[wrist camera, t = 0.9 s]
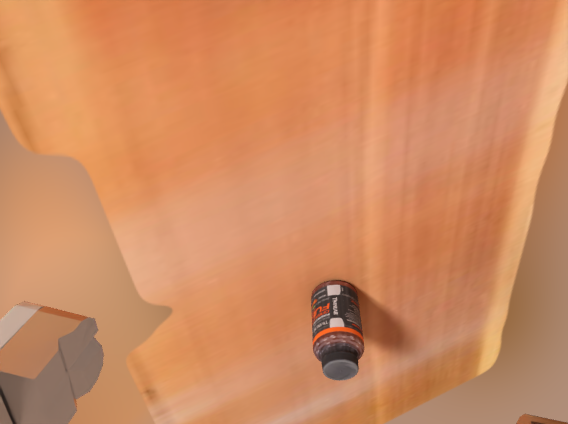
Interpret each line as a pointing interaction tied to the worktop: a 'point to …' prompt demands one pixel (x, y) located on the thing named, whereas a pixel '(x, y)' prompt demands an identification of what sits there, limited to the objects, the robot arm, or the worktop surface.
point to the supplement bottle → (337, 329)
